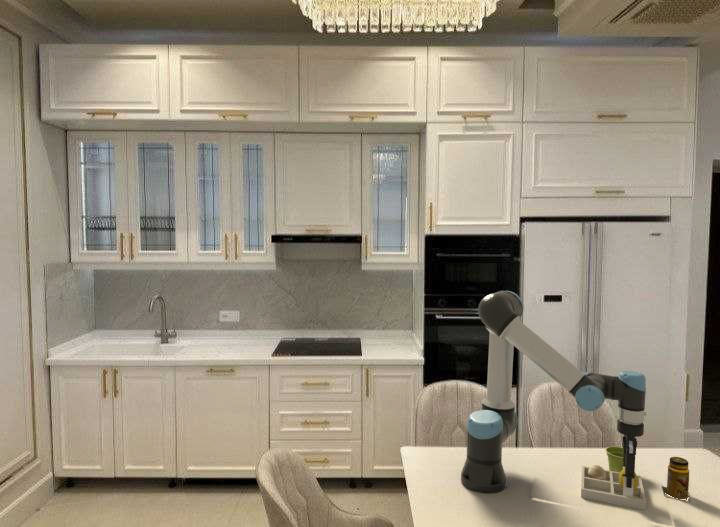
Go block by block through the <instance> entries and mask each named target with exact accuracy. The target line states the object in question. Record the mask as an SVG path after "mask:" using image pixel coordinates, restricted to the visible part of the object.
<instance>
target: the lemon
mask: <svg viewBox="0 0 720 527" xmlns="http://www.w3.org/2000/svg"><path fill="white" fill-rule="evenodd" d="M622 474H625V469H623V470H622V471H621V472H620V474H619V484H620V486H621V488H622V489H623V488H624V476H622ZM637 476H638V474H637V473H636V472H635V478H634V487H633V491H635V490H636V489H637V486H638V477H637Z"/></svg>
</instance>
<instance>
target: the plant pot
mask: <svg viewBox="0 0 720 527" xmlns="http://www.w3.org/2000/svg"><path fill="white" fill-rule="evenodd" d="M604 450H605V452H606V456H607V461H608V471H614V472H621V471H622V470H623V467H625V466H623V446H622V447H621V446H608V447H606V448H605V449H604Z"/></svg>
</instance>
